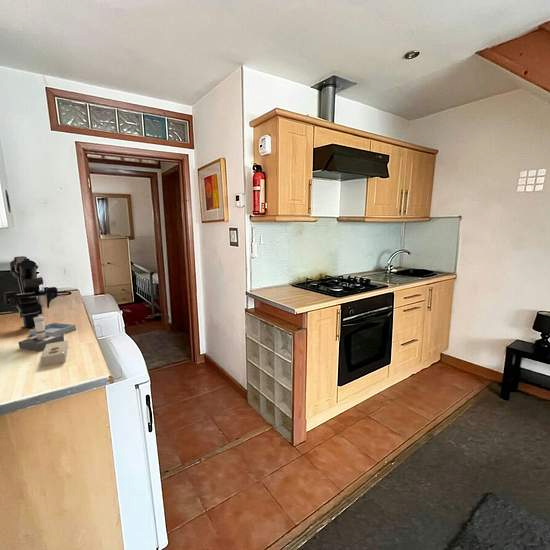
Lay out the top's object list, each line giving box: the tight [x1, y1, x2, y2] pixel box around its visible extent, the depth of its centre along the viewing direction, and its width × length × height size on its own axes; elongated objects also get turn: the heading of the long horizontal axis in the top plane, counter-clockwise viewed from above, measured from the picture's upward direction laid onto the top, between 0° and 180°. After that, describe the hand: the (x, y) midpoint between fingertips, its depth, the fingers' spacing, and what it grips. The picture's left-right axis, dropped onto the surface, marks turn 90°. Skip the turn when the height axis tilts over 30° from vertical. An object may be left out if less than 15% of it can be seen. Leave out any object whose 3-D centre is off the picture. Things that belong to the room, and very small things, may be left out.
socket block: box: [18, 333, 65, 352], centre depth 129 cm, size 11×11×3 cm
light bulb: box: [33, 315, 46, 341], centre depth 128 cm, size 4×4×12 cm
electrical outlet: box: [40, 340, 69, 368], centre depth 117 cm, size 7×4×18 cm
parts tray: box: [28, 322, 77, 337], centre depth 145 cm, size 14×12×2 cm
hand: (35, 309), depth 133 cm, fingers open, 9 cm apart
